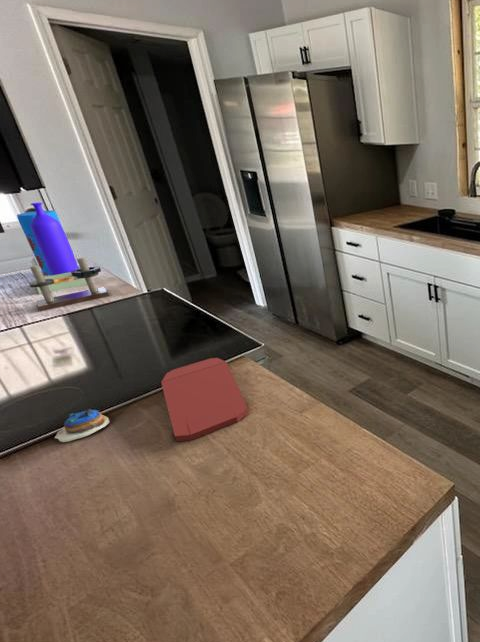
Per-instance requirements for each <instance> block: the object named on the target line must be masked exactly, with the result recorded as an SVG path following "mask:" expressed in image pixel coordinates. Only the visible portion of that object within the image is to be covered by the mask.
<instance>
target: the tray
mask: <svg viewBox="0 0 480 642" xmlns="http://www.w3.org/2000/svg"><path fill="white" fill-rule="evenodd" d="M62 277H73V276H72V274H71V272H69V273H63V274H58V275H46V276H44V278H45V279H57V278H62ZM74 278H75V280H73V281H67V282H62V283H57V284H52V285H48V287H49V289H50V291H51V293H52V292H57V291H63V290H67V289H73V288H77V287H82V286H88V285H87V282H86V280H85V278H81V279H80V278H77V277H74ZM34 281H36V279H35V278H34ZM35 288H36V290H37V292H38V294H39V295H43V294H42V292H41V290H40V288H39V287H35Z"/></svg>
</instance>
